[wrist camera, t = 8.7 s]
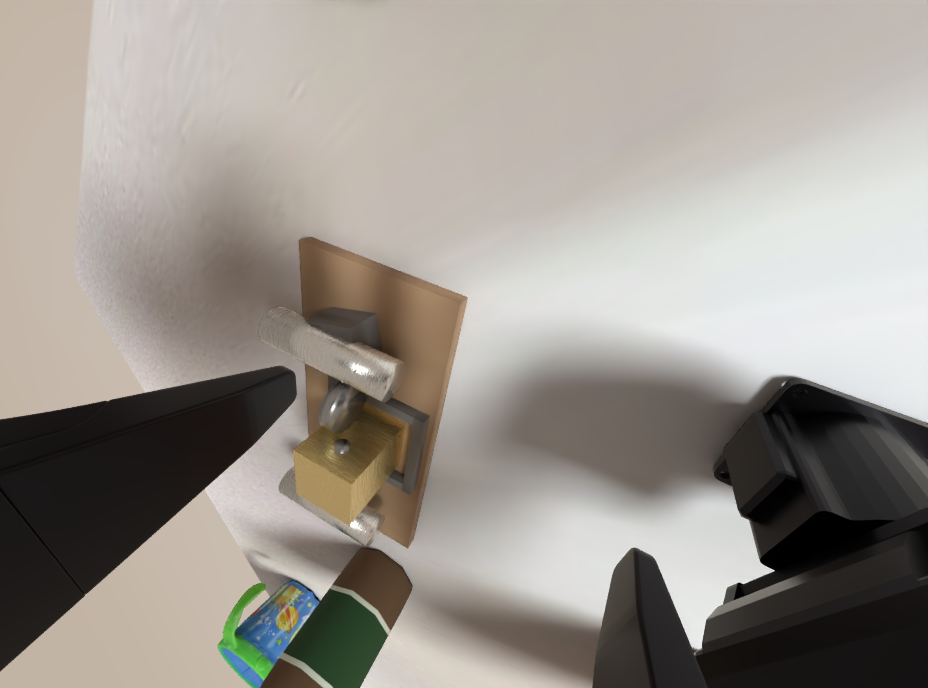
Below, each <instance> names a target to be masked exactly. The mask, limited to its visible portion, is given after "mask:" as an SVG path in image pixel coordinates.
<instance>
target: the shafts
mask: <svg viewBox="0 0 928 688" xmlns="http://www.w3.org/2000/svg"><path fill="white" fill-rule="evenodd" d="M307 319H309V318H307V317H305V316H303V315H300V314H298V313H296V312H294V311H292V310H290V309H287V308H285V307H275V308H273V309H271V310H270V311H268V312H267V313H266V314H265V316H264V317H263V318H262V320H261V322H260V325H259V330H258V332H259V337H260V339H261V340H262V341H263V342H264V343H266V344H268V345H270V346H272V347H274V348H276V349H278V350H280V351H282V352H284V353H286V354H288V355H290V356H292V357H294V358H296V359H298V360H300V361H302V362H304V363H306V364H308V365H310V366H312V367H314V368H316V369H318V370H320V371H322V372H324V373H326V374H328V375H330V376H332V377H334V378H336V379H338V380H339V381H338V382H337V383H335V384H334V385H333V386H332V388H331V389H330V390H329V391H328V393H327V394H326V396H325V397H324V399H323V401H322V403H321V406H320V409H319V413H318V421H319V423H320V425H321V426H323V427H325V428H326V429H328V430H330V431H332V432H334V433H336V434H338V433H342V432H344V431H345V430H347V429H348V428H349V427H350V426H351V425H352V424H353V423H354V422H355V420H356V419H357V418H358V416H359V415H360V413H361V411H362V409H363V407H364V404H365V401H366V397H367V395H369V396H371V397H373V398H375V399H377V400H379V401H381V402H386V401H388V400H389V399H391V398H392V397H393V395H394V394H395V393H396V391H397V390H398V388H399V386H400V384H401V382H402V380H403V377H404V373H405V364H404V362H402V361H400V360H398V359H396V358H394V357H392V356H389V355H387V354H385V353H383V352H381V351H379V350H376V349H374V348H372V347H370V346H368V345H366V344H363V343H361V342H356V343H351V342H349V341H347V340H345V339H342V338H340V337H338V336H336V335H334V334H332V333H329V332H327V331H325V330H323V329H321V328H319V327H317V326H314V325H312V324H310V323H308V322H306V320H307ZM279 492H280V493H282V494H283V495H285V496H286V497H288V498H289V499H291V500H293V501H294V502H296V503H297V504H299V505H301V506H302V507H304V508H305V509H307V510H308V511H310V512H312V513H313V514H315V515H316V516H318V517H320V518H321V519H323V520H324V521H326V522H327V523H329V524H331V525H332V526H334V527H335V528H337V529H339V530H340V531H342V532H343V533H345V534H346V535H348V536H350V537H351V538H353V539H354V540H356V541H357V542H359V543H361V544H362V545H364V546H365V547H368V546H369V545H370V544H371V543H372V542H373V541H374V539H375V538H376V536H377V535H378V533H379V531H380V529H381V527H382V525H383V522H384V519H385V516H384V515H383V514H381V513H380V512H378V511H376V510H375V509H373V508H371V507H370V506H368V505H366V506H365V507H364V509H363V510H362V511H361V512H360V514H359V515H358V516H357V517H356V519H355V520H354V521H353V522H352V524H351V525H350V526H348V525H346V524H345V523H343V522H342V521H340V520H338V519H337V518H335V517H334V516H332V515H330V514H329V513H327V512H326V511H324V510H322V509H321V508H319V507H318V506H316V505H315V504H313V503H311V502H310V501H308V500H307V499H305V498H303V497H302V496H300V495H299V494H297V493H296V480H295V467H292V468H291V469H290V470H289V471H288V472H287V473H286V474H285V475H284V477H283V478H282V480H281V482H280V485H279Z"/></svg>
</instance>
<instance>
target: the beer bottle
mask: <svg viewBox="0 0 928 688" xmlns="http://www.w3.org/2000/svg"><path fill="white" fill-rule="evenodd" d="M411 591H412V584H411V582H410V580H409V578H408V577H407V575H406V573H405V571H404V569H403V568H402V567H401V566H400V565H399V564H397V563H396V562H395V561H393V560H392V559H391V558H389V557H388V556H387V555H385V554H384V553H383V552H382V551H378V550H372V549H367V548H361V549H360V550H359V551H358V552H357V553H356V554H355V556H354V557H353V558H352V559H351V561H350V562H349V563H348V564H347V566H346V567H345V568H344V570H343V571H342V573H341V574H340V575H339V577H338V578H337V579H336V581H335V582H334V583H333V585H332V586H331V588H330V589H329V590H328V592H327V593H326V594H325V596H324V597H323V598H322V600H321V601H320V603H319V604H318V605H317V607H316V608H315V609H314V611H313V612H312V613H311V615H310V616H309V618H308V619H307V620H306V622H305V623H304V624H303V626H302V627H301V628H300V630H299V631H298V632H297V634H296V635H295V637H294V638H293V639H292V641H291V642H290V643H289V645H288V646H287V647H286V649H285V650H284V652H283V653H282V654H281V656H280V657H279V659H278V660H277V662H276V663H275V665H274V666H273V668H272V669H271V671H270V672H269V674H268V675H267V677H266V678H265V680H264V681H263V683H262V685H261V687H260V688H360V686H361V685H362V683H363V681H364V679H365V677H366V675H367V674H368V672H369V670H370V668H371V666H372V664H373V663H374V661H375V659H376V657H377V655H378V653H379V652H380V650H381V648H382V646H383V644H384V642H385V640H386V639H387V637H388V635H389V633H390V631H391V629H392V628H393V626H394V624H395V622H396V620H397V618H398V617H399V615H400V613H401V611H402V609H403V607H404V605H405V603H406V601H407V599H408V597H409V595H410V593H411Z"/></svg>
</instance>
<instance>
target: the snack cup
mask: <svg viewBox="0 0 928 688" xmlns="http://www.w3.org/2000/svg"><path fill="white" fill-rule="evenodd" d="M265 588H266V585H265V584H262V583H259V584H256V585H253V586H252V587H251V588H249V589H248V590H247V591H246V592H245V593H244V595H243V596H242V597H241V598H240V600H239V601H238V603H237V604H236V605H235V607H234V608H233V610H232V612H231V613H230V615H229V617H228V619H227V621H226V624H225V627H224V631H223V639H222V640H221V641H220V643H219V644H218V650H219V652H220V653H221V655H222V656H223V658H224V659H225V660H226V662H227V663H228V664H229V665H230V666H231V668H232V669H234V671H235V672H236V673H237V674H238V675H239V676H240V677H241V678H242V679H243V680H244V681H245V682H246V683H247V684H249V685H250V686H251V687H252V688H260V687H261V685H262V683H263V681H264V680H265V678H266V677H267V675H268V674H269V672H270V671H271V669H272V668H273V666H274V665H275V663H276V662H277V660H278V659H279V657H280V656H281V654H282V653H283V652H284V650H285V649H286V647H287V646H288V645H289V643H290V642H291V641H292V639H293V638H294V637H295V635H296V634H297V632H298V631H299V630H300V628H301V627H302V626H303V624H304V623H305V622H306V620H307V619H308V618H309V616H310V615H311V613H312V612H313V611H314V609H315V608H316V607H317V605H318V604H319V603H320V602H319V601H318V600H317V599H316V598H315V597H314V595H313V593H312V592H310V591H308V590H307V589H306V588H305V587H304V586H303V585H301V584H300V583H297V582H295V581H291V582H288V583H286V584H284V585H283V586H282V587H281V588H279V589H278V590H277V591H276V592H275V593H274V594H273V595H272V596H271V597H270V598H269V599H268V600H266V601H265V602H264V603H263V604H262V605H261V606H260V607H259V608H258V609H257V610H256V611H255V612H254V613H253V614H251V615H250V616H249V617H248V618H247V619H246V620H245V621H244V622H243V623H242V624H241V625H240V626H239V627H238V628H237V625H238V623H239V620H240V617H241V614H242V612H243V609H244V608H245V607H246V606H247V605H248V604H249V603H250V602H251V601H252V600H253V599H255V598H256V597H257V596H258V595H259V594H260V593H261V592H262V591H264V590H265ZM236 628H237V629H236Z"/></svg>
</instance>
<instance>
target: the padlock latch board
mask: <svg viewBox="0 0 928 688" xmlns="http://www.w3.org/2000/svg"><path fill="white" fill-rule="evenodd" d="M299 250H300V270H301V290H302V310H303V316H305V317H307V318H309V319H307V320H306V322H308V323H310V324H312V325H314V326H317V327H319V328H321V329H323V330H325V331H327V332H329V333H332V334H334V335H336V336H338V337H340V338H342V339H345V340H347V341H349V342H351V343H356V342H361V343H363V344H366V345H368V346H370V347H372V348H374V349H376V350H379V351H381V352H383V353H385V354H387V355H389V356H392V357H394V358H396V359H398V360H400V361H402V362H404V364H405V373H404V377H403V380H402V382H401V384H400V386H399V388H398V390H397V391H396V393H395V394H394V395H393V397H392V398H391V399H389V400H388V401H386V402H381V401H379V400H377V399H375V398H373V397H371V396H369V395H367V397H366V401H365V403H367V404H369V405H371V406H373V407H375V408H377V409H379V410H381V411H383V412H385V413H387V414H388V415H390V416H392V417H394V418H396V419H398V420H400V421H402V422H404V423H406V429H405V435H404V440H403V446H402V452H401V458H400V464H399V465H398V466H397V467H396V469H395V470H394V471H393V472H392V474H391V475H390V476H389V477H388V479H387V480H386V481H385V482H384V484H383V485H382V486H381V487H380V489H379V490H378V491H377V492H376V494H375V495H374V496H373V497H372V499H371V500H370V501H369V502H368V504H367V505H368V506H370V507H371V508H373V509H375V510H376V511H378V512H380V513H381V514H383V515H384V516H385V519H384V522H383V525H382V527H381V529H380V532H382V533H383V534H385V535H387V536H388V537H390V538H391V539H393V540H395V541H396V542H398V543H400V544H401V545H403V546H405V547H406V548H408V547H409V546H410V544H411V543H412V541H413V539H414V535H415V530H416V526H417V521H418V517H419V512H420V508H421V503H422V499H423V495H424V490H425V486H426V481H427V477H428V472H429V468H430V463H431V459H432V454H433V450H434V445H435V441H436V437H437V432H438V428H439V423H440V419H441V414H442V410H443V405H444V401H445V396H446V392H447V388H448V383H449V379H450V374H451V370H452V365H453V361H454V356H455V352H456V347H457V343H458V339H459V334H460V330H461V325H462V321H463V316H464V312H465V307H466V303H467V297H465V296H462V295H459V294H457V293H454V292H452V291H449V290H447V289H444V288H441V287H439V286H436V285H434V284H431V283H429V282H426V281H423V280H421V279H418V278H416V277H413V276H410V275H408V274H405V273H403V272H400V271H398V270H395V269H392V268H390V267H387V266H385V265H382V264H379V263H377V262H374V261H372V260H369V259H367V258H364V257H361V256H359V255H356V254H354V253H351V252H348V251H346V250H343V249H341V248H338V247H336V246H333V245H330V244H328V243H325V242H323V241H320V240H317V239H315V238H312V237H309V238H305V239H301V240H299ZM305 371H306V391H307V411H308V432H309V436H311V435H312V434H313V433H314V432H315V431H317V430H318V429H319V428H320V427H321V425H320V423H319V421H318V413H319V409H320V406H321V403H322V401H323V399H324V397H325V396H326V394H327V393H328V391H329V390H330V389H331V388H332V386H333V385H334V384H335V383H337V382H338V381H339V380H338V379H336V378H334V377H332V376H330V375H328V374H326V373H324V372H322V371H320V370H318V369H316V368H314V367H312V366H310V365H308V364H306V363H305Z"/></svg>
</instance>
